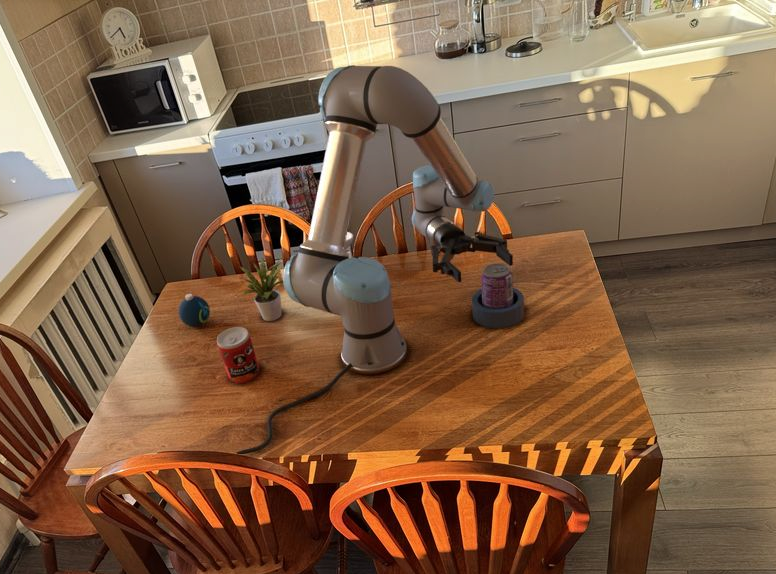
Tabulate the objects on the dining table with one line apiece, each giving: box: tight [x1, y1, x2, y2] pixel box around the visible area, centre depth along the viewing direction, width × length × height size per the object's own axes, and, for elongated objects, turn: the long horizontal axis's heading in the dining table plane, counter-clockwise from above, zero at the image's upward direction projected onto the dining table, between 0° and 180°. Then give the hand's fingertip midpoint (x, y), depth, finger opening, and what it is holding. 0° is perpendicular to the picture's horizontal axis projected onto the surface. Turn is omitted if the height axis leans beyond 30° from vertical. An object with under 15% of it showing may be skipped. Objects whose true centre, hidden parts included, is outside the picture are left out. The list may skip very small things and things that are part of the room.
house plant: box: [239, 257, 285, 322], centre depth 169 cm, size 14×14×16 cm
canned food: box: [216, 326, 260, 384], centre depth 152 cm, size 8×8×11 cm
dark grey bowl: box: [471, 287, 525, 329], centre depth 154 cm, size 12×12×4 cm
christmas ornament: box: [177, 293, 211, 328], centre depth 175 cm, size 8×8×10 cm
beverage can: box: [480, 262, 514, 309], centre depth 152 cm, size 7×7×12 cm
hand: (485, 268), depth 154 cm, fingers open, 13 cm apart
